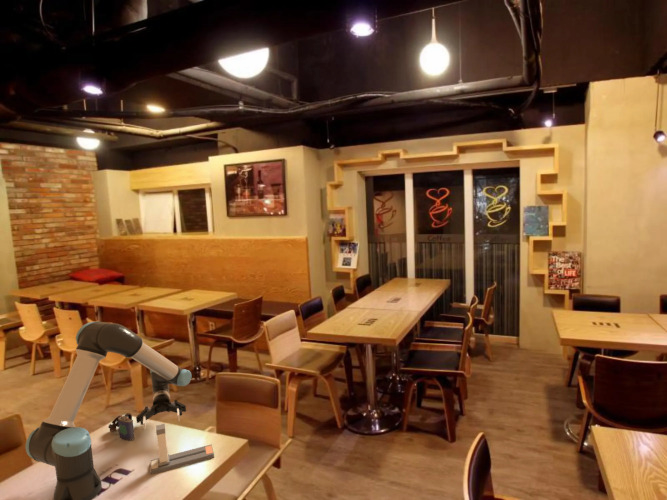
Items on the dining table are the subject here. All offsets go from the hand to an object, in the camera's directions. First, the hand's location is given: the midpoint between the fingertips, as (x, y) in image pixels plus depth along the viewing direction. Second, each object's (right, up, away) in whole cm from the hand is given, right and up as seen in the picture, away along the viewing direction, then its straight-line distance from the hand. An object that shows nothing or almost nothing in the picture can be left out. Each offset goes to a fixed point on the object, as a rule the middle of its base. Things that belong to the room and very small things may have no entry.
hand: (161, 422), depth 176 cm
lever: (+4, -12, -8) cm, 15 cm away
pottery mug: (-28, -13, +23) cm, 38 cm away
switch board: (+11, -14, -5) cm, 18 cm away
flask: (-22, -14, +15) cm, 30 cm away
